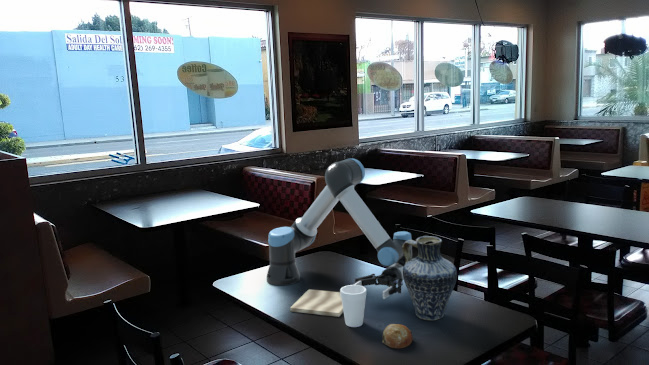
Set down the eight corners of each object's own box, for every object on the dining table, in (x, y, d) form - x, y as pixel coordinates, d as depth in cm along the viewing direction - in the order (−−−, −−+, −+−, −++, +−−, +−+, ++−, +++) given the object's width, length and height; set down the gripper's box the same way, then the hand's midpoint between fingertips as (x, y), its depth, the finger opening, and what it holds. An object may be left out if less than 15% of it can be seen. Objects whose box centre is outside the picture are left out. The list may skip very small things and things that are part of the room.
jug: (463, 311, 201) (463, 234, 195) (447, 332, 184) (447, 248, 179) (411, 302, 211) (411, 229, 206) (392, 321, 195) (391, 242, 190)
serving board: (290, 311, 206) (290, 307, 206) (308, 292, 225) (308, 289, 225) (339, 316, 200) (339, 313, 200) (354, 297, 218) (353, 293, 218)
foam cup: (367, 318, 198) (366, 284, 196) (366, 329, 189) (366, 294, 187) (342, 317, 199) (341, 284, 197) (340, 328, 190) (339, 294, 188)
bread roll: (382, 347, 183) (373, 329, 180) (406, 330, 185) (397, 312, 183) (396, 360, 174) (386, 341, 171) (420, 342, 176) (411, 323, 174)
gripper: (421, 289, 211) (397, 307, 194) (367, 279, 225) (340, 296, 208) (421, 271, 210) (397, 288, 192) (366, 262, 224) (339, 277, 207)
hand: (367, 292), depth 200 cm, fingers open, 13 cm apart
